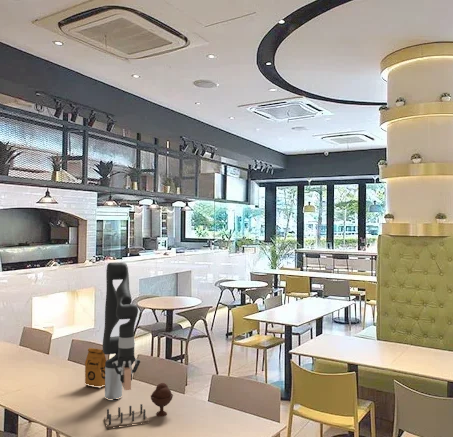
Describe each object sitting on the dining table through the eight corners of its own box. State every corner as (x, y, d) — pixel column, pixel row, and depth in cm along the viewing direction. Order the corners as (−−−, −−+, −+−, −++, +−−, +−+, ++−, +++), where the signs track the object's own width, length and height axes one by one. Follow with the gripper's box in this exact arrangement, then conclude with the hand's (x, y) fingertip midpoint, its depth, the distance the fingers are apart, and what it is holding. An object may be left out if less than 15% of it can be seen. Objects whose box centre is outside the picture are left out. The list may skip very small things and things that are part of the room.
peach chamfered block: (121, 383, 225) (121, 364, 225) (127, 383, 226) (127, 363, 226) (124, 390, 216) (125, 369, 216) (130, 389, 217) (131, 369, 217)
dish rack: (104, 419, 222) (104, 407, 223) (143, 413, 230) (143, 402, 230) (107, 429, 211) (107, 416, 212) (148, 423, 218) (148, 411, 219)
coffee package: (98, 390, 263) (99, 352, 263) (82, 387, 268) (82, 349, 269) (110, 385, 272) (110, 348, 272) (94, 382, 277) (94, 345, 278)
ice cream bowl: (146, 414, 229) (146, 384, 229) (164, 408, 237) (164, 379, 237) (158, 420, 221) (159, 389, 222) (177, 414, 229) (177, 384, 230)
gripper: (139, 342, 228) (139, 377, 227) (110, 345, 222) (110, 381, 222) (142, 346, 221) (142, 382, 220) (112, 349, 215) (112, 386, 215)
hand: (126, 381), depth 221 cm, fingers closed on peach chamfered block, 2 cm apart
